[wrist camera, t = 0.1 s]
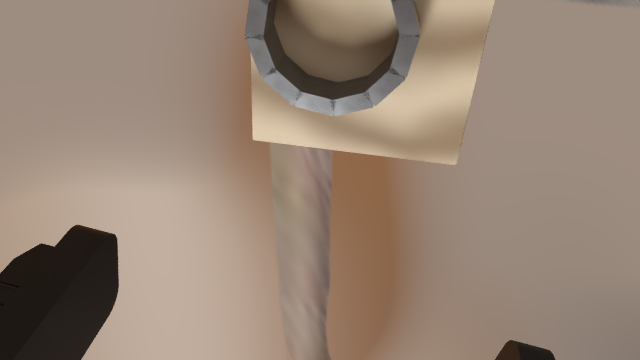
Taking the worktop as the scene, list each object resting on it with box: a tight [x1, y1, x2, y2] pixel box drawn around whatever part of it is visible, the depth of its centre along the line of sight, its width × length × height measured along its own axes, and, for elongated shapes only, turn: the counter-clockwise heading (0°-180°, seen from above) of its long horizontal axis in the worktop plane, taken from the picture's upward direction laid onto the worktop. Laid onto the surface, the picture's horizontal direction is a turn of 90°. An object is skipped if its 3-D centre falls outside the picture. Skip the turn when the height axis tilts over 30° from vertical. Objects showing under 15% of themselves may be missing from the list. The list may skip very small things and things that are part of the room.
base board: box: [251, 0, 495, 165], centre depth 36 cm, size 20×16×1 cm
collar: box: [245, 0, 420, 116], centre depth 34 cm, size 11×11×3 cm
